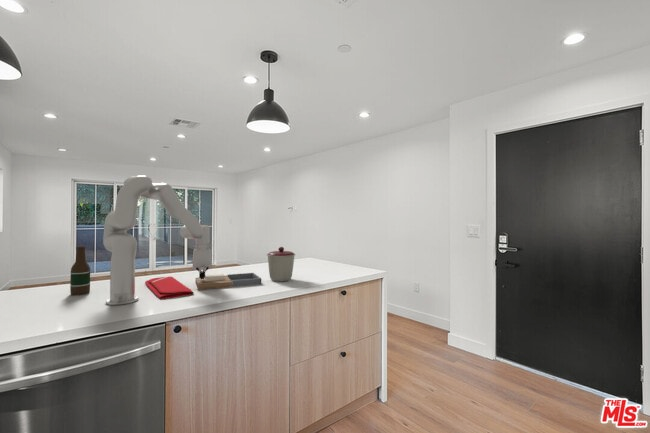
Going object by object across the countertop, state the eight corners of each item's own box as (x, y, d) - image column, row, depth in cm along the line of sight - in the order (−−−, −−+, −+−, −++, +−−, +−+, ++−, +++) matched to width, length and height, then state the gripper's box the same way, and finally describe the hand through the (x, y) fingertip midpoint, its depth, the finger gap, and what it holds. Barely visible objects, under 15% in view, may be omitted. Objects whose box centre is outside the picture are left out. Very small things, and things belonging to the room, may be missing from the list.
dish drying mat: (159, 300, 144) (159, 292, 144) (144, 285, 175) (144, 278, 175) (194, 295, 154) (194, 288, 154) (173, 281, 185) (173, 275, 185)
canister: (267, 283, 180) (267, 248, 180) (265, 277, 198) (266, 245, 198) (297, 282, 185) (297, 248, 185) (293, 276, 202) (293, 245, 202)
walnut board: (232, 287, 171) (232, 281, 171) (198, 290, 163) (198, 284, 163) (226, 280, 189) (226, 275, 189) (195, 282, 181) (195, 277, 181)
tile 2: (224, 279, 176) (224, 275, 176) (215, 280, 174) (215, 276, 174) (222, 278, 181) (222, 273, 181) (214, 278, 178) (214, 274, 178)
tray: (261, 284, 179) (261, 278, 179) (233, 286, 171) (233, 280, 171) (253, 278, 196) (253, 272, 196) (227, 280, 189) (227, 274, 189)
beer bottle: (78, 296, 148) (79, 247, 148) (66, 295, 150) (66, 246, 150) (93, 292, 156) (94, 245, 156) (81, 291, 157) (82, 245, 158)
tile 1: (215, 280, 174) (215, 276, 174) (205, 281, 172) (205, 276, 172) (214, 278, 178) (214, 274, 178) (204, 279, 176) (204, 275, 176)
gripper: (215, 245, 180) (215, 276, 180) (187, 246, 173) (187, 278, 173) (217, 247, 173) (216, 279, 173) (188, 247, 167) (188, 281, 166)
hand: (202, 278), depth 173 cm, fingers closed
